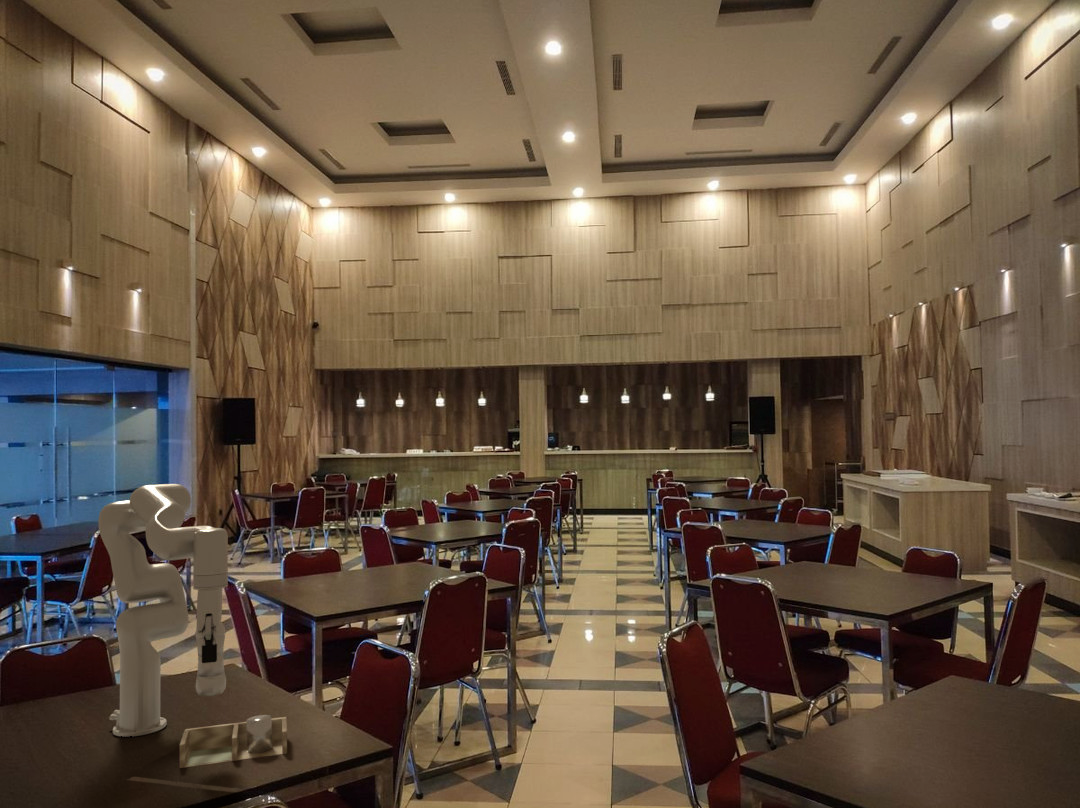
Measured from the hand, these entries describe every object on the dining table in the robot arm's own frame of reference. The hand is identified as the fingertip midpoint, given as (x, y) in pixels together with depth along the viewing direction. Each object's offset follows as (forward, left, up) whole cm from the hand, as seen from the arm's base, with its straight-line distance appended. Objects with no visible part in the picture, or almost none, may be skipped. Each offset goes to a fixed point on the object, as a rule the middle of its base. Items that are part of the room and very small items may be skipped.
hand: (210, 658), depth 186 cm
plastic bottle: (0, 0, -9) cm, 9 cm away
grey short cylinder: (+9, +6, -22) cm, 25 cm away
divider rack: (+4, +4, -23) cm, 24 cm away
